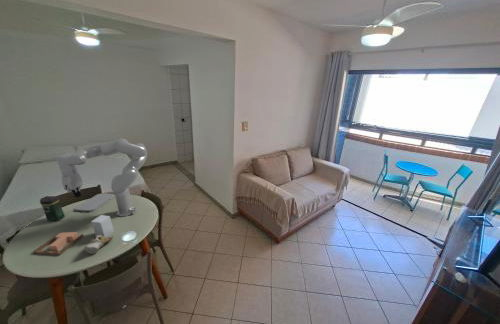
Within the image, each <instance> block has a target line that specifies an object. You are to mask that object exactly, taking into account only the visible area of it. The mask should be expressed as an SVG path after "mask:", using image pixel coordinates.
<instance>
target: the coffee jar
mask: <svg viewBox="0 0 500 324" xmlns="http://www.w3.org/2000/svg"><path fill="white" fill-rule="evenodd" d="M39 203H40V205H41V207H42V209H43V211H44V214H45V217H46V220H47V221H48V222H59V221H60V220H63V219H64V218H65V212H64V211H63V208H62V206H61V204H60V199H59V197H58V196H53V195H46V196H44V197H41V198H40V200H39Z"/></svg>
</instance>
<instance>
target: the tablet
mask: <svg viewBox="0 0 500 324" xmlns="http://www.w3.org/2000/svg"><path fill="white" fill-rule="evenodd" d="M112 197H113V198H115V193H97V194H95V195H94V196H92V197H91V198H89V199H88V200H86V201H84V202H83V203H81V204H79V205H78V206H76V207H74V210H75V211H77V212H88V213H89V212H90V213H92V212H94V211H96V210H98V209H99V208H100V207H102V206H104V205H105V204H106V203H108V202H109V201H110V200H109V199H111V198H112ZM113 198H112V199H113ZM112 199H111V200H112ZM108 200H109V201H108ZM107 201H108V202H107ZM105 202H106V203H105ZM104 203H105V204H104Z"/></svg>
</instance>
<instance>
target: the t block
mask: <svg viewBox="0 0 500 324" xmlns="http://www.w3.org/2000/svg"><path fill="white" fill-rule="evenodd" d="M56 235H57V236H56ZM56 235H55V236H56V237H55V236H54V237H55V238H56V240H54V241H53V242H51V243H50V244H49V245H48V248H49V251H56V252H59V251H61V250H62V249H63V248H64V247H65V246H67V245H68V244H69V243H70V242H72V241H74V240H75V239H76V238H77V237H79V235H78V232H77V231H74V232H73V231H72V232H71V231H70V232H59V233H58V234H56ZM68 242H69V243H68Z"/></svg>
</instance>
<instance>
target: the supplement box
mask: <svg viewBox="0 0 500 324" xmlns="http://www.w3.org/2000/svg"><path fill="white" fill-rule="evenodd" d="M91 224H92V225H91V226H92V228H93V231H94V234H95V236H98V235H102V236H104V237H105V239H106V238H109V237H110V235H111V234H112V233H114V232H115V230H114V227H113V223H112V220H111V216H110V215H105V214H104V215H103V214H100V215H99V216H97V217H95V218H94V219H93V220H91Z"/></svg>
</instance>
